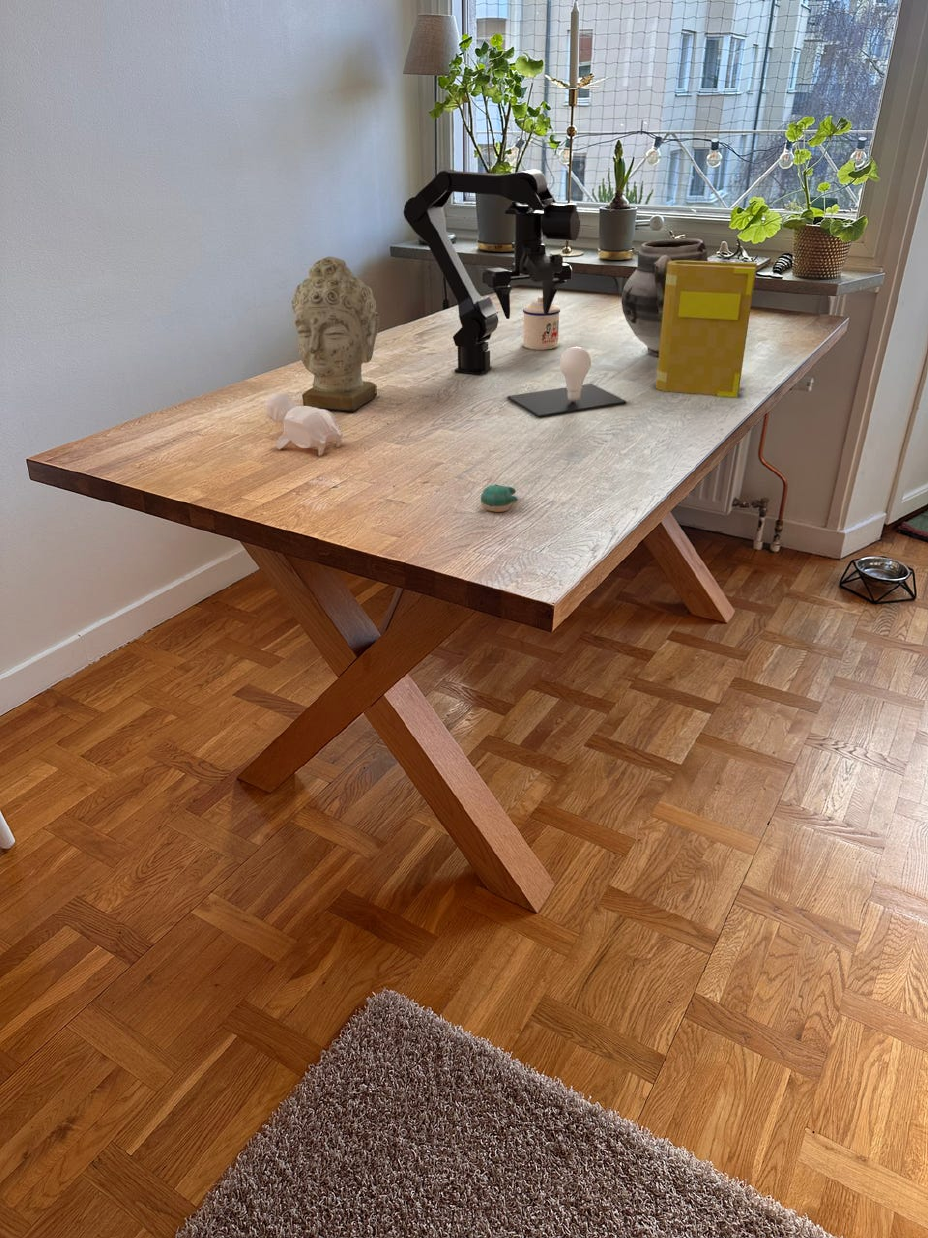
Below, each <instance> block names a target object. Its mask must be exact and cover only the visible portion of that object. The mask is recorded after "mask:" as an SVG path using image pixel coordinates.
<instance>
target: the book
mask: <svg viewBox="0 0 928 1238" xmlns="http://www.w3.org/2000/svg"><path fill="white" fill-rule="evenodd" d="M757 266H758V262H749V261H748V262H747V261H736V262H735V261H712V260H711V261H709V260H708V261H687V260H676V261H669V262H668V263H667V274H666V285H665V295H664V306H663V317H662V327H661V338H660V348H659V356H658V360H657V372H656V382H655V388H656V389H657V390H658V391H663V392H671V393H682V394H683V393H684V394H694V395H697V394H698V395H708V396H709V395H710V396H717V397H723V398H724V397H725V398H738V394H739V390H740V385H741V377H742V373H743V372H742V371H743V365H744V358H745V357H744V356H745V351H746V343H747V336H748V329H749V322H750V316H751V307H752V301H753V295H754V288H755V282H756V281H755V279H756V274H757V268H758V267H757Z"/></svg>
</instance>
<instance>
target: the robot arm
mask: <svg viewBox="0 0 928 1238" xmlns="http://www.w3.org/2000/svg"><path fill="white" fill-rule="evenodd" d="M453 193H466V194H477V195H478V194H480V195H493V196H498V197H501V198H503V199H505V200H507V201H511V204H510V205H509V206H508V208H506V209H505V210H504V214H505V215H510V216H511V215H513V216H514V242H511V249H514V252H513V253H514V255H513V257H514V258H513V263H511V266H510V267H511V270H508V269H506V268H502V267H492V268H485V269H484V270H483V272H482V279H481V280H482V281H481V282H482V283H483V284H484V285H487V287H488V288H491V289H493V291H494V293H495V296H496V297H497V300H498V302H499V304H500V307H501V310H502V312H503V315H504V317H505V319H506V320H510V318H511V298H510V296H511V295H510V294H511V292H512V289H513V287H512V286H510V283H511V282H512V281H520V280H531V281H532V282H534V283H540V282H542V296H543V310H544V314H546V315H547V314H548V312H549V309H550V307H551V304H553V301H554V299H555V295H556V294H557V292H558V290H559V288H560V287H561V286H563V285H566V284H567V280H572V279H573V268H572V266H571V265H570V264H568V263H566V262H564V256H563V255H562V254H561V253H554V254H551V255H548V254H547V252H546V250H547V249H546V245H545V243H543V236H545V238H546V240H550V241H551V240H552V241H568V242H569V241H570V242H575V241H576V240H577V239H578V237H579V235H580V231H581V230H580V229H581V219H580V213H579V211H578V210H577V209H578V204H577V203H573V202H572V203H571V202H570V203H566V204H565V203H558V202H557V200H556V199H555V197H554V196H553V194H552V192H551V190H550V189H549V187H548V181H547V178H546V176H545V174H544V173H543V172H542V171H541V170H538V169H530V170H529V169H528V170H523V171H517V172H510V173H490V172H489V173H488V172H472V171H460V170H459V171H457V170H454V169H447V170H440V171H439V172H437V174H436V175H435V176H434V178H433V179H432V180H431V181H430V182H429V183H428V184H427V185H426V186H424V187H423V188H422V189H421V190H420V191H419V192H417V194H416V195H415V196H412V197H410V198H408V200H406V202H405V205H404V209H403V217H404V219H405V220H406V222H407V223H408V225H409V226H410V228H411V229H412V231H413V232H414V233H415V234H416V235H417V236H418V237H420V238H421V239H422V240H423V241H424V242H425V243H426V245H427V246H428V248H429V250H430V253H431V254H432V256H433V257H434V260H435V262H436V263H437V265H438V267H439V269H440V272H441V274H442V275H443V277H444V279H445V281H446V283H447V285H448V287H449V289H450V290H451V292H452V294H453V296H454V298H455V300H456V303H457V306H458V318H459V321H460V324H461V327H460V329H458V331H456V333H455V334H454V335H452V339H453V342H454V345H455V346H456V347H457V367H456V368H455V369H454V372H455V373H462V374H471V375H482V374H483V373H485V372H487V371H488V370H490V369H492V365H491V349H490V348H489V342H488V341H489V340H490V339H491V337H492V335H493V333H494V332H495V331H496V330H497V328H498V324H499V321H500V320H499V317H498V314H499V310H497V309H496V307H495V305H494V303H493V300H492V297H490V295H487V296H485V297H483V296H481V295H480V293H478V291H477V289H476V288H475V286H474V284H473V282H472V280H471V278H470V275H469V274H468V272H467V270H466V268H465V266H464V264H463V262H462V260H461V258H460V257H459V254H458V252H457V251H456V248H455V247H454V245H453V242H452V240H451V239H450V237H449V235H448V232H447V226H446V216H445V213H444V210H443V208H444V207H445V206H446V205H447V204H448V202H449V200H450V198H451V197H452V195H453Z"/></svg>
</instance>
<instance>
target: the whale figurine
mask: <svg viewBox="0 0 928 1238" xmlns="http://www.w3.org/2000/svg"><path fill="white" fill-rule="evenodd" d="M516 491H517V490H516V489H515V488H513V486H512V487H511V486H506V485H501V484H490V485H488V486H486V487H485V488H484V490H483V491H482V492H481V495H480V496H481V497H480V504H481V507H482V508H483V510H486V511H488V512H489V511H490V512H495V513H502V512H506V511H508V510H509V509H510V508H511V506H512V505H513V504H516V503H517V502H518V497H517V496H515V495H516V493H517V492H516Z"/></svg>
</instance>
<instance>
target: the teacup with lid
mask: <svg viewBox="0 0 928 1238" xmlns="http://www.w3.org/2000/svg"><path fill="white" fill-rule="evenodd" d="M560 312H561V308H560V306H559V305H557V304H553V303H552V304H551V307H550V309H549V312H548V314H547V315H546V314H544V310H543V295H541V296H538V297H537V300H535V301H533V302H532V303H530V304H527V305H525V306H524V307H523V309H522V313H523V327H522V329H523V330H522V334H523V335H522V345H523V347H524V348H526V349H530V350H538V351H545V350H546V351H547V350H553V349H555V348H557V347H558V345H559V329H560V328H559V325H560Z"/></svg>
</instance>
